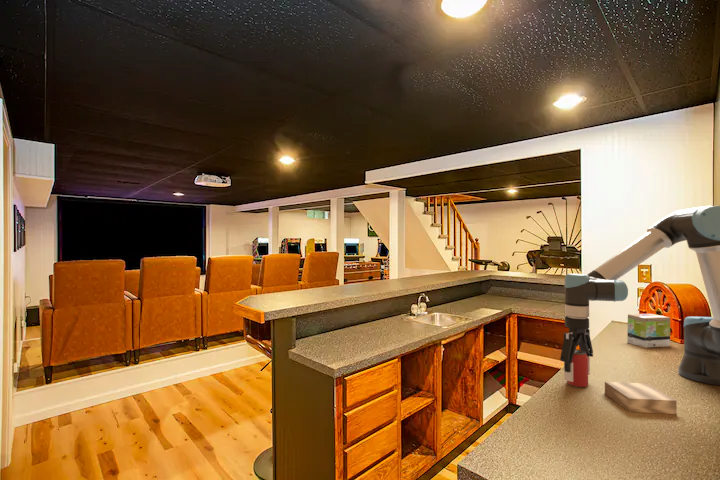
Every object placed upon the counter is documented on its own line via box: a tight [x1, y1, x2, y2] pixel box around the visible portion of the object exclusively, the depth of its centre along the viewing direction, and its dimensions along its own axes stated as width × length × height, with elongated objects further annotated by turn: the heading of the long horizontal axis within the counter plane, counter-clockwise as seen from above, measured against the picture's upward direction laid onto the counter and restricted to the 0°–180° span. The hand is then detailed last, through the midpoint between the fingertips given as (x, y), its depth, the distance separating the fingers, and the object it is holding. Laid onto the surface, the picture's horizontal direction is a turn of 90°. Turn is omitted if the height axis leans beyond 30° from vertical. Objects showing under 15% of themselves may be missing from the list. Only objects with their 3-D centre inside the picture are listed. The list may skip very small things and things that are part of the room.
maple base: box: [604, 381, 678, 415], centre depth 112 cm, size 13×13×4 cm
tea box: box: [626, 313, 671, 349], centre depth 177 cm, size 15×10×15 cm, turn 102°
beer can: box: [566, 348, 589, 388], centre depth 127 cm, size 7×7×12 cm
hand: (577, 377), depth 127 cm, fingers open, 11 cm apart
